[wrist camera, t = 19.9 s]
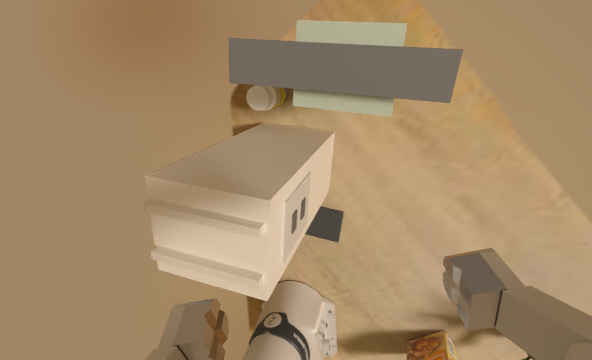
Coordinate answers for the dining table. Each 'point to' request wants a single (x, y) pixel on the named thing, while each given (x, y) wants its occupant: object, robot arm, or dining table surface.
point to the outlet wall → (240, 206)
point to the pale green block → (348, 35)
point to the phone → (326, 224)
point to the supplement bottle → (266, 97)
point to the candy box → (431, 348)
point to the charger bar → (346, 68)
